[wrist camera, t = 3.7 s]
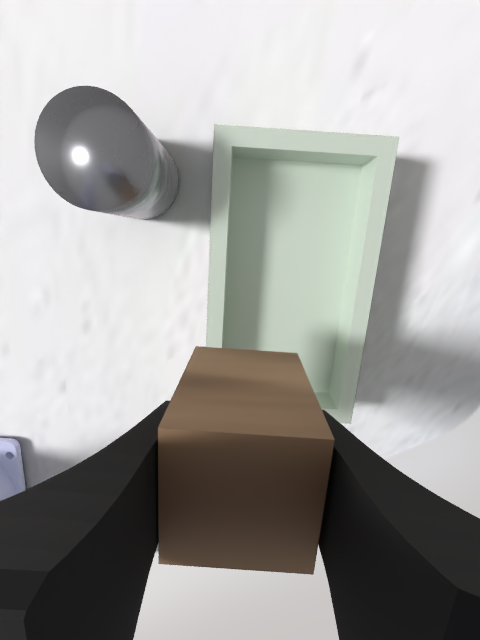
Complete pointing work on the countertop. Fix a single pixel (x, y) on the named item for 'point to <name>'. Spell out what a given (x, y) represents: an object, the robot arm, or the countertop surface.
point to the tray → (298, 248)
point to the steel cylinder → (103, 155)
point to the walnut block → (243, 464)
